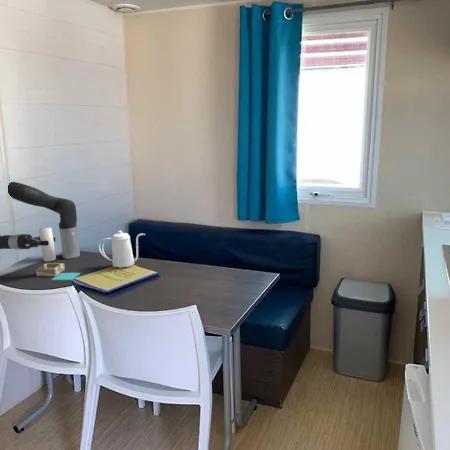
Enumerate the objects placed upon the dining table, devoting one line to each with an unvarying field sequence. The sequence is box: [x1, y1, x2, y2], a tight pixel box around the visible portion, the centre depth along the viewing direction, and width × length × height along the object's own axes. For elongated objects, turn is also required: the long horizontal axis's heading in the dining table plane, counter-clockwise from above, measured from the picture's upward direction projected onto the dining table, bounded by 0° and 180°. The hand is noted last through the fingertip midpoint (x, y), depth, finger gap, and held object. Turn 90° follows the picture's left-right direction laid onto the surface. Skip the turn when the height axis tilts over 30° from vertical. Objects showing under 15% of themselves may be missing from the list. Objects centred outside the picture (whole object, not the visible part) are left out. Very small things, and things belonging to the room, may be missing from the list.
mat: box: [51, 272, 81, 282], centre depth 222 cm, size 10×10×1 cm
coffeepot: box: [98, 230, 146, 268], centre depth 234 cm, size 11×25×19 cm, turn 84°
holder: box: [35, 262, 66, 277], centre depth 230 cm, size 10×10×4 cm
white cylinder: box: [38, 226, 57, 262], centre depth 227 cm, size 6×6×16 cm
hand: (51, 241), depth 226 cm, fingers closed on white cylinder, 6 cm apart
